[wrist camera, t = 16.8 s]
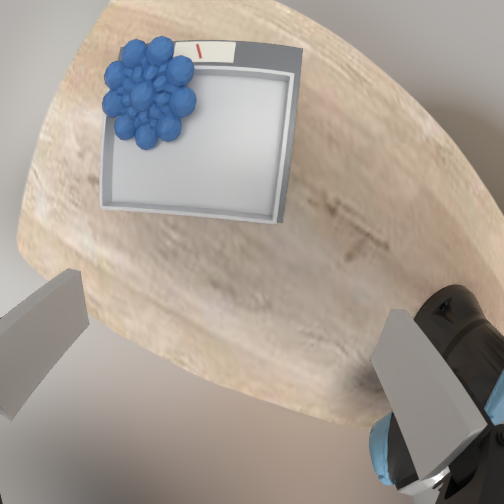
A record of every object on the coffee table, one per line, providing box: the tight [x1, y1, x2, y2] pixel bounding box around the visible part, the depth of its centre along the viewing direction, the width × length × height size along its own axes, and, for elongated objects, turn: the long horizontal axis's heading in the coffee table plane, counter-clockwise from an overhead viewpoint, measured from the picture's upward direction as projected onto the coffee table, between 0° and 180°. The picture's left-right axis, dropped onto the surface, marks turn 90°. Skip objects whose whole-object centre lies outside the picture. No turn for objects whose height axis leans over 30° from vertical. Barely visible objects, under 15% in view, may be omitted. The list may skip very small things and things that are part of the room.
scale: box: [99, 40, 303, 225], centre depth 28 cm, size 22×21×6 cm
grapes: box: [102, 36, 197, 150], centre depth 23 cm, size 12×7×12 cm
